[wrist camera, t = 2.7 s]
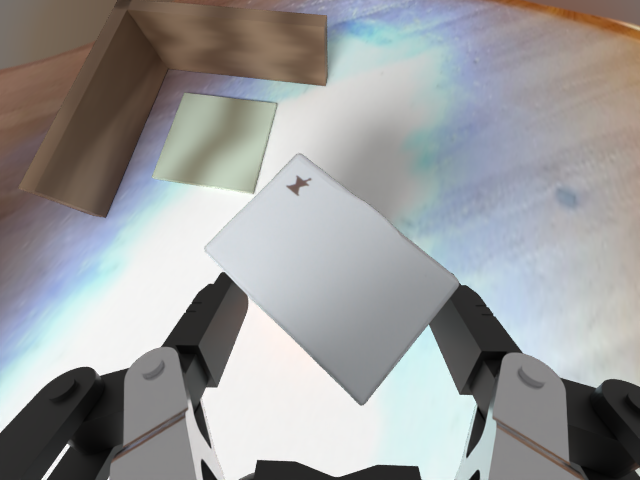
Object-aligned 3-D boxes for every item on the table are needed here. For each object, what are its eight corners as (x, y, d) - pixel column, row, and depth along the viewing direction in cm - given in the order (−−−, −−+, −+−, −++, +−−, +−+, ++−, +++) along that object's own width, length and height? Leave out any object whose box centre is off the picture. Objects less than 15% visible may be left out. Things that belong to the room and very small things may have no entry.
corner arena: (92, 215, 20) (18, 188, 15) (160, 58, 24) (118, -3, 19) (290, 248, 19) (277, 230, 14) (327, 75, 23) (327, 15, 18)
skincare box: (279, 281, 18) (193, 244, 7) (317, 240, 19) (298, 143, 7) (340, 338, 17) (363, 417, 5) (378, 293, 18) (470, 277, 6)
